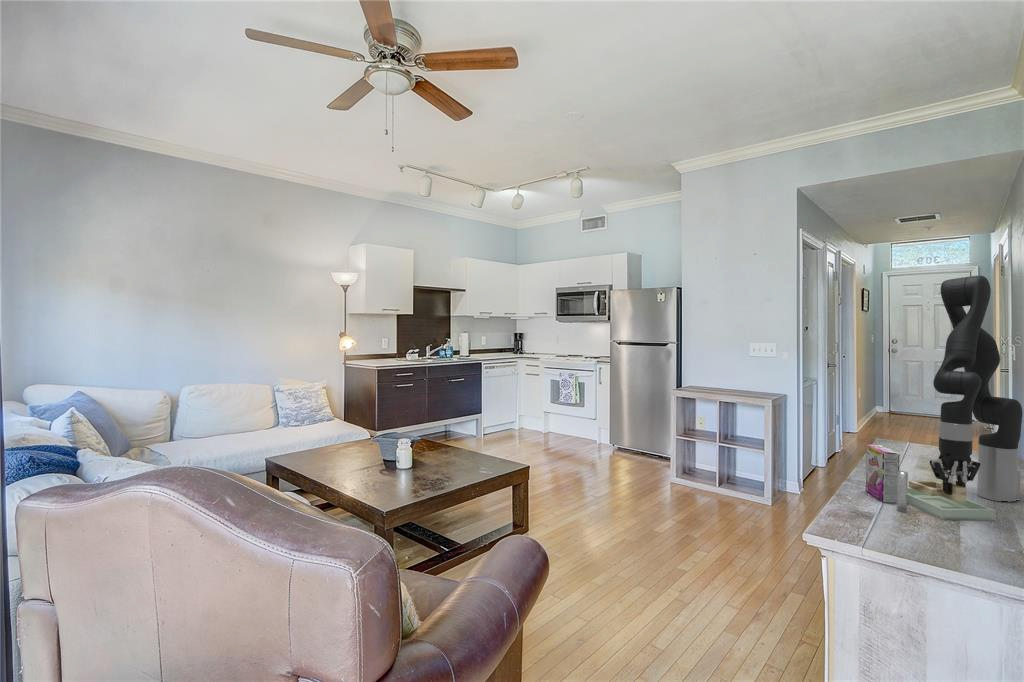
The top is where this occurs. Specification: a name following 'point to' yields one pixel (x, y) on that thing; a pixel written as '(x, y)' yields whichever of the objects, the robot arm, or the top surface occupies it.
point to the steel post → (902, 491)
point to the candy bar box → (882, 473)
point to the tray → (948, 507)
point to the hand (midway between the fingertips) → (953, 493)
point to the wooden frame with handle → (939, 490)
